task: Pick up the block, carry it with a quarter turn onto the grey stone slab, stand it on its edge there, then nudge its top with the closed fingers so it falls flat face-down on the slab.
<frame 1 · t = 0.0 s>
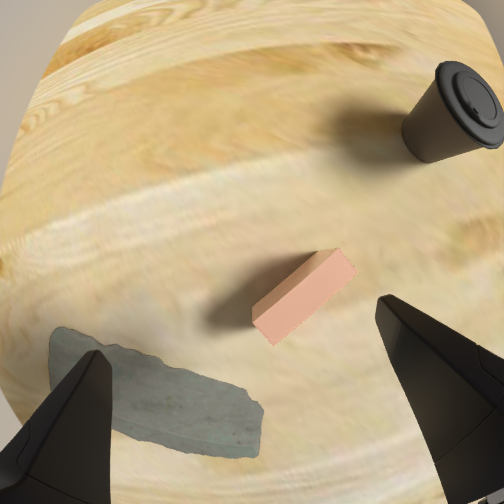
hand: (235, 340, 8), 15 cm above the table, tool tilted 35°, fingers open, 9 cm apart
stone slab: (150, 398, 24), on the table
coffee cup: (422, 139, 24), on the table
block: (293, 288, 23), on the table
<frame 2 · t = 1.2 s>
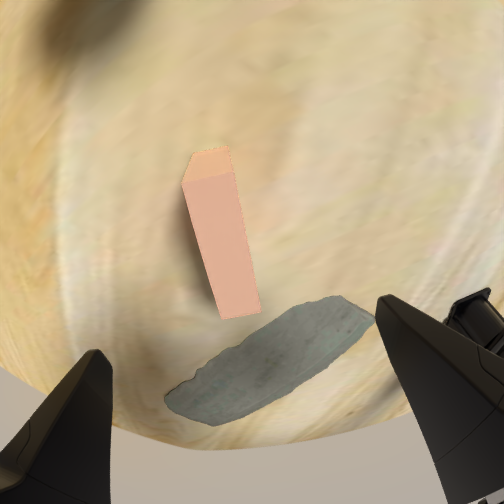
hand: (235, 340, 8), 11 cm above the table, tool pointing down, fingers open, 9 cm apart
stone slab: (260, 364, 27), on the table
block: (222, 204, 17), on the table
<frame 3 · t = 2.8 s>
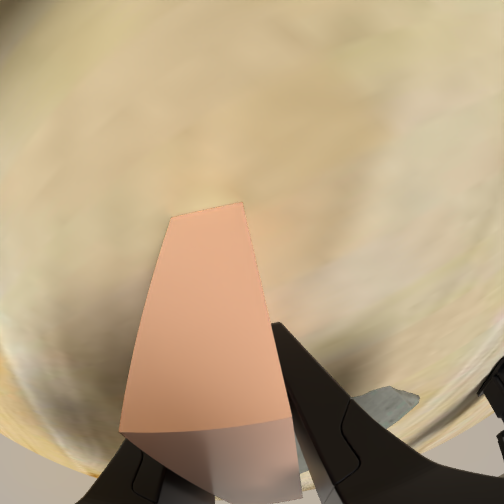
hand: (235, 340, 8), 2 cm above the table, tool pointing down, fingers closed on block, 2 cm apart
stone slab: (275, 447, 19), on the table
block: (232, 305, 10), on the table, touching gripper
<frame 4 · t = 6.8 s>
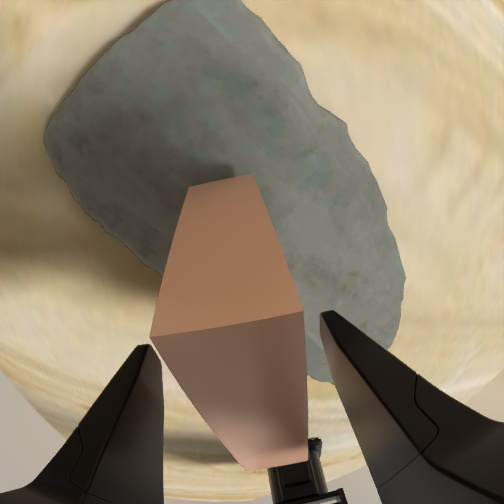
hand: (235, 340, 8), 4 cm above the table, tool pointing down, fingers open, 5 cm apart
stone slab: (292, 247, 13), on the table, touching block
block: (241, 272, 10), point 2 cm above the table, touching stone slab
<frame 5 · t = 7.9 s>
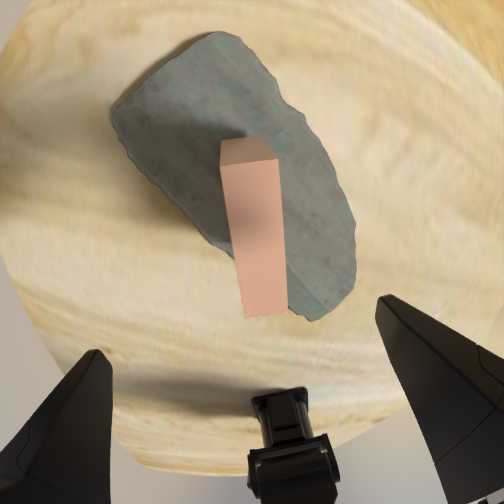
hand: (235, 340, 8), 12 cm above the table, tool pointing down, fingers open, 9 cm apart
stone slab: (272, 197, 19), on the table, touching block
block: (247, 197, 16), point 2 cm above the table, touching stone slab
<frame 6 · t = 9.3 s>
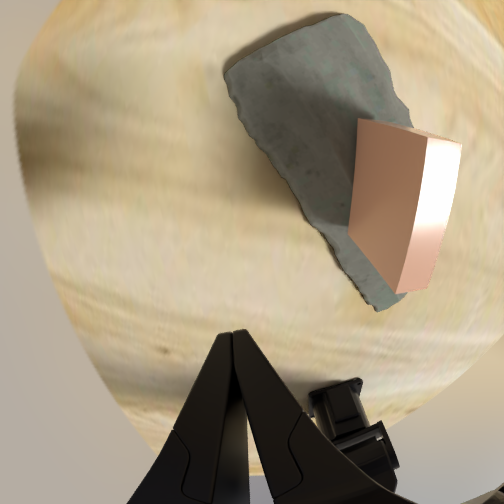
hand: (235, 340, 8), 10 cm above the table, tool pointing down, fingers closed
stone slab: (368, 183, 18), on the table, touching block
block: (368, 178, 15), point 2 cm above the table, touching stone slab
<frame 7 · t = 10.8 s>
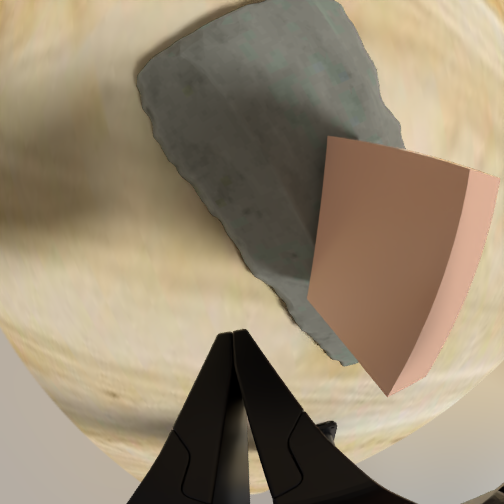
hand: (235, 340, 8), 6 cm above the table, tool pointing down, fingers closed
stone slab: (337, 221, 15), on the table, touching block
block: (338, 223, 11), point 2 cm above the table, tilted 12°, touching stone slab
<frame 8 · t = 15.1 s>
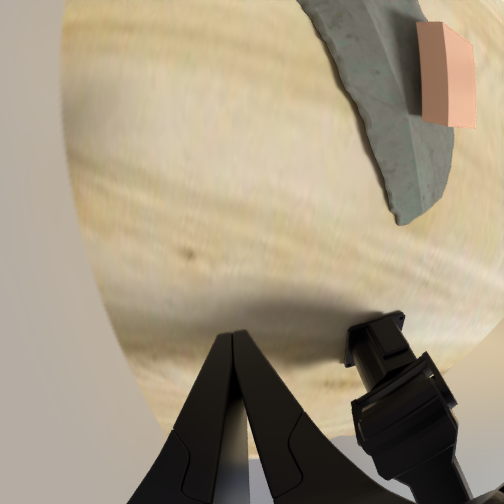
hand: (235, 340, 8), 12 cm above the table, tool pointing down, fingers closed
stone slab: (395, 78, 16), on the table
block: (434, 71, 12), point 3 cm above the table, tilted 112°
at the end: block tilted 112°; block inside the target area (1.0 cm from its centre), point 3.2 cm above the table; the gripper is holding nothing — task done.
